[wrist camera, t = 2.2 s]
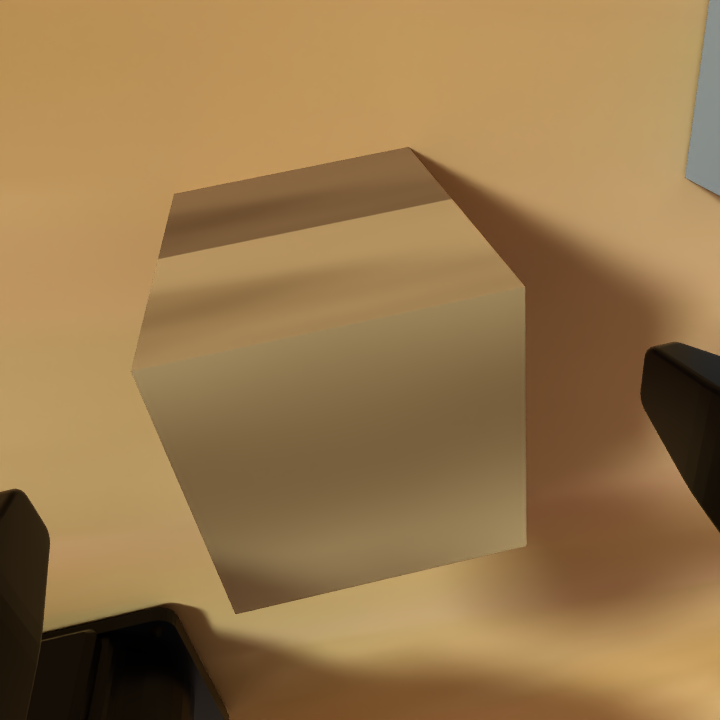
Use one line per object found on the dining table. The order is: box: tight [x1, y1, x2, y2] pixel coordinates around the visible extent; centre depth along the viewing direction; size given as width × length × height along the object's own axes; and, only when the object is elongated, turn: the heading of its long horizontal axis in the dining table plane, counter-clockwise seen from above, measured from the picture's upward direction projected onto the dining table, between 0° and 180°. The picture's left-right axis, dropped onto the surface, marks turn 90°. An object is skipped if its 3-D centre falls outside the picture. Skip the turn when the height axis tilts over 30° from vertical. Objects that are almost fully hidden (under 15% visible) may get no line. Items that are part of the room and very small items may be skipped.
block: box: [131, 147, 526, 614], centre depth 11 cm, size 4×4×6 cm
